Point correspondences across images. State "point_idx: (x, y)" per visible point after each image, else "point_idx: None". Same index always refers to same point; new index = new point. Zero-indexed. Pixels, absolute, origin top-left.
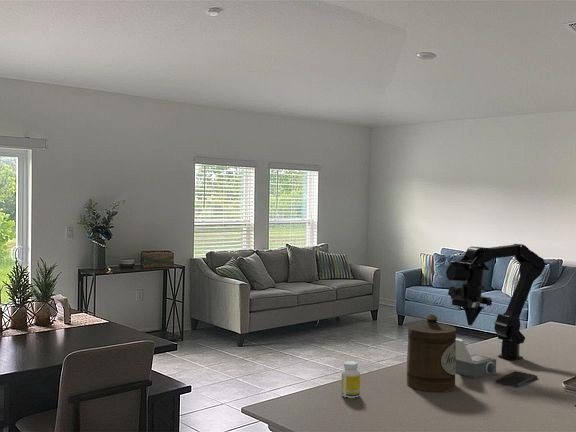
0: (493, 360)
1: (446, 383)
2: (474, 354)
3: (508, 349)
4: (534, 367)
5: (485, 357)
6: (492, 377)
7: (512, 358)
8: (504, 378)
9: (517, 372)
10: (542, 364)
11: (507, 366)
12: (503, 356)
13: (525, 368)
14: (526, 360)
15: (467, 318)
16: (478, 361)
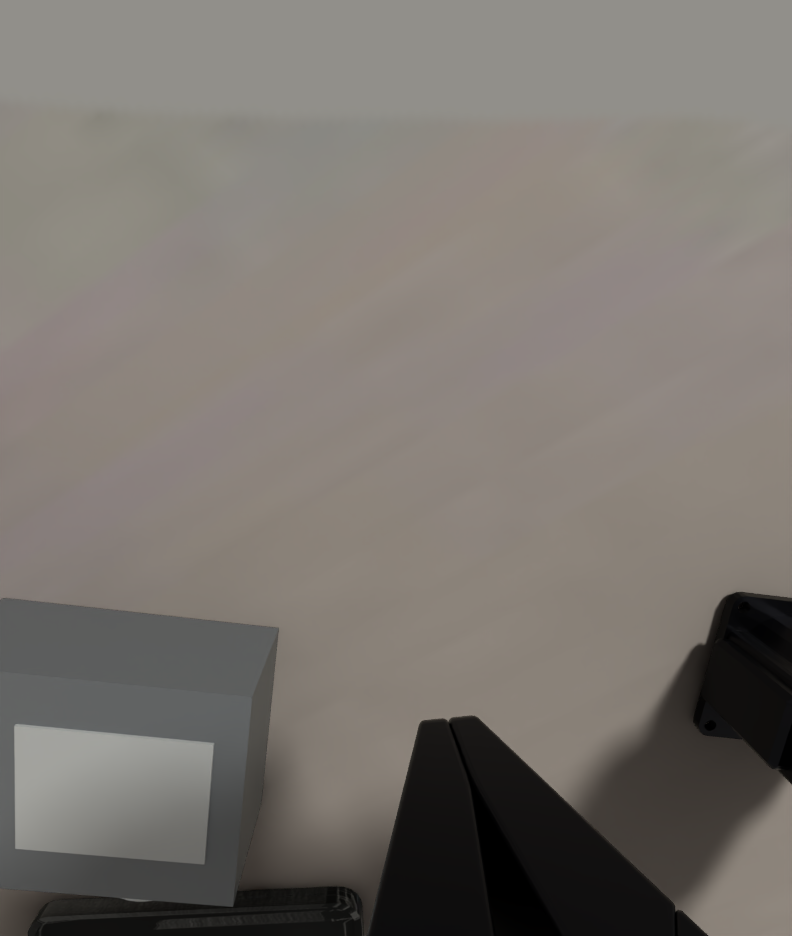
0: (193, 899)
1: None
2: (235, 699)
3: (758, 751)
4: None
5: (205, 827)
6: None
7: (718, 721)
8: (135, 929)
9: (349, 915)
10: (736, 892)
11: None
12: (711, 661)
13: None
14: (776, 778)
15: (386, 885)
16: (26, 851)
